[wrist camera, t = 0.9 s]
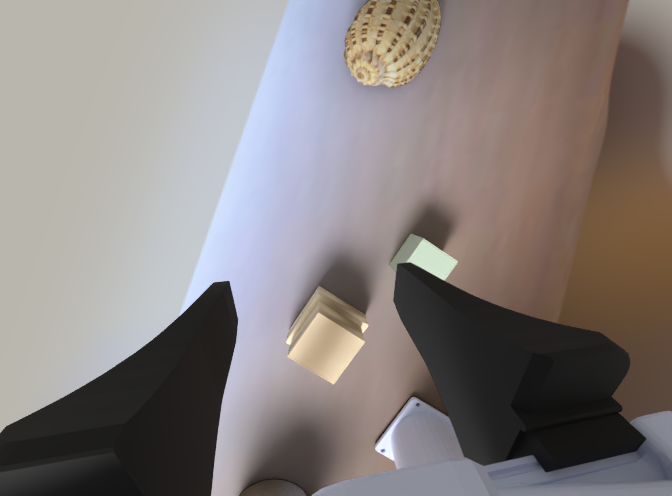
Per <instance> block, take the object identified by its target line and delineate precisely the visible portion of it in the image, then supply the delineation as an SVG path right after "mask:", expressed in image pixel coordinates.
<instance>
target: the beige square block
mask: <svg viewBox="0 0 672 496" xmlns="http://www.w3.org/2000/svg"><path fill="white" fill-rule="evenodd" d="M364 342H365V340H364V336H363V333H362V329H361V327H360V326H358V325H357V324H355V323H354V322H352V321H351V320H349V319H348V318H346V317H344V316H343V315H341V314H340V313H338V312H337V311H335V310H333V309H332V308H330V307H329V306H327V305H326V304H324V303H322V302H321V301H319V302H318V303H317V304H316V306H315V307H314V309H313V310H312V312H311V313H310V314H309V316H308V317H307V319H306V320H305V322H304V323H303V324H302V326H301V327H300V329H299V330H298V332H297V333H296V335H295V336H294V337H293V339H292V340H291V344H290V348H289V352H288V356H287V357H288V358H290V359H292V360H293V361H295V362H297V363H298V364H300V365H302V366H303V367H305V368H307V369H308V370H310V371H312V372H313V373H315V374H317V375H319V376H320V377H322V378H324V379H325V380H327V381H329V382H330V383H332V384H334V383H335V382H336V381H337V379H338V378H339V376H340V375H341V374H342V372H343V371H344V370H345V368H346V367H347V366H348V364H349V363H350V361H351V360H352V359H353V357H354V356H355V355H356V353H357V352H358V351H359V349H360V348H361V347H362V345H363V344H364Z"/></svg>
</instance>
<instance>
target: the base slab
mask: <svg viewBox="0 0 672 496" xmlns="http://www.w3.org/2000/svg"><path fill="white" fill-rule="evenodd" d="M319 301H321V302H322V303H324V304H326V305H327V306H329V307H330V308H332V309H333V310H335V311H337V312H338V313H340V314H341V315H343V316H344V317H346V318H348V319H349V320H351V321H352V322H354V323H355V324H357V325H358V326H360V327H361V329H362V333H364V331H365V330H366V328H367V327H368V326H369V325H368V322H367V319H366V316H365V314H363V313H362V312H360V311H359V310H357V309H355V308H354V307H352V306H351V305H349V304H347V303H346V302H344V301H343V300H341V299H339V298H338V297H336V296H335V295H333V294H331V293H330V292H328V291H327V290H325V289H323V288H322V287H320V286H318V288H317V289H316V291H315V292H314V294H313V295H312V297H311V298H310V300H309V301H308V303H307V304H306V306H305V307H304V309H303V310H302V312H301V313H300V315H299V316H298V318H297V319H296V321H295V322H294V324H293V325H292V326H291V328H290V329H289V332H288V335H287V339H286V343H288V344H289V345H290V344H291V340H292V339H293V337H294V336H295V335H296V333H297V332H298V330H299V329H300V327H301V326H302V324H303V323H304V322H305V320H306V319H307V317H308V316H309V314H310V313H311V312H312V310H313V309H314V307H315V306H316V304H317V303H318V302H319Z"/></svg>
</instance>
